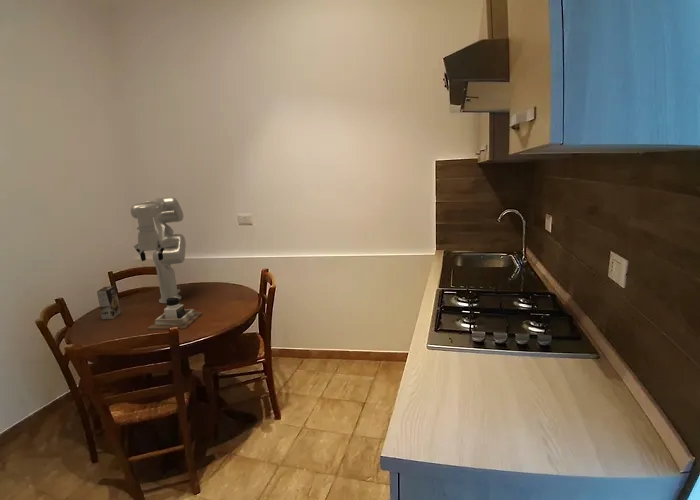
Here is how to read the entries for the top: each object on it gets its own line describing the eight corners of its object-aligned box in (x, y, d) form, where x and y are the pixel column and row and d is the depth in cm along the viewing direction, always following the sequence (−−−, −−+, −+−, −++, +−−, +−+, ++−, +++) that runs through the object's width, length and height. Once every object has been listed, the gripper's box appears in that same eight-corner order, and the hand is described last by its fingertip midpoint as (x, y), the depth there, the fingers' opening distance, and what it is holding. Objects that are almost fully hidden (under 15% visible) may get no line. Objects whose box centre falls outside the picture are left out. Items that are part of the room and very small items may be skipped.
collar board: (167, 315, 237) (166, 308, 236) (202, 313, 235) (201, 307, 234) (147, 329, 218) (146, 322, 217) (185, 328, 216) (184, 321, 215)
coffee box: (113, 318, 237) (108, 290, 233) (101, 319, 236) (95, 291, 233) (121, 312, 246) (115, 285, 242) (109, 313, 245) (104, 286, 242)
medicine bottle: (178, 322, 222) (174, 300, 219) (165, 322, 223) (161, 300, 221) (185, 317, 229) (182, 295, 226) (173, 317, 230) (169, 295, 228)
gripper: (127, 231, 227) (133, 262, 231) (159, 229, 225) (164, 261, 229) (135, 228, 234) (141, 259, 238) (166, 226, 233) (171, 257, 236)
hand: (152, 260), depth 234 cm, fingers open, 9 cm apart
